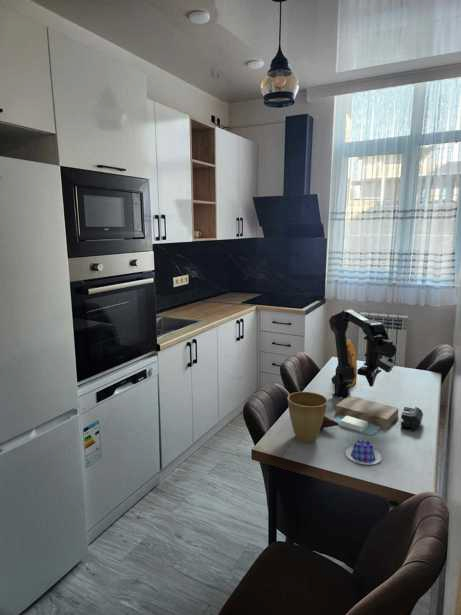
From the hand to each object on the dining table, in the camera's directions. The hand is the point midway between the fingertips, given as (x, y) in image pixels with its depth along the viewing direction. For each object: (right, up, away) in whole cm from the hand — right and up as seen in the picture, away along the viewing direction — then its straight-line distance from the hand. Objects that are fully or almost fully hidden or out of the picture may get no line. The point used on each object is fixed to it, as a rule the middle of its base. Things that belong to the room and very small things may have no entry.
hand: (371, 386), depth 175 cm
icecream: (-25, -15, -13) cm, 32 cm away
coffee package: (0, -6, +39) cm, 40 cm away
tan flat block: (-3, -12, -1) cm, 13 cm away
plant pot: (-32, -16, -20) cm, 41 cm away
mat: (-10, -14, -10) cm, 20 cm away
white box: (-11, -12, -11) cm, 20 cm away
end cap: (+12, -14, -11) cm, 22 cm away
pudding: (-15, -19, -33) cm, 41 cm away
